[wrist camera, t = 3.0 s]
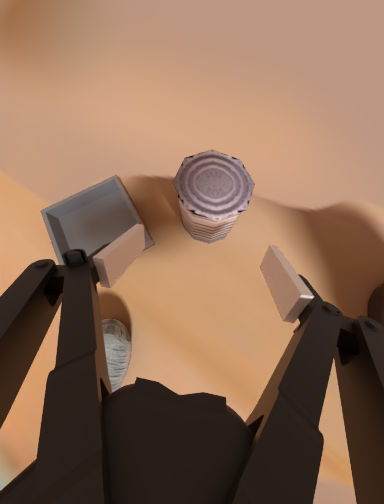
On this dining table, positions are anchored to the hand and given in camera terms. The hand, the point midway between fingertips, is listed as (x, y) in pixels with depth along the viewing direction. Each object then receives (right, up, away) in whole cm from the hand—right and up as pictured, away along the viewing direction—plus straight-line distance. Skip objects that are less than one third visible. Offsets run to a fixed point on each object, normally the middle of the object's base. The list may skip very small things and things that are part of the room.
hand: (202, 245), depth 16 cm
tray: (-20, +4, +17) cm, 27 cm away
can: (+2, +7, +17) cm, 18 cm away
